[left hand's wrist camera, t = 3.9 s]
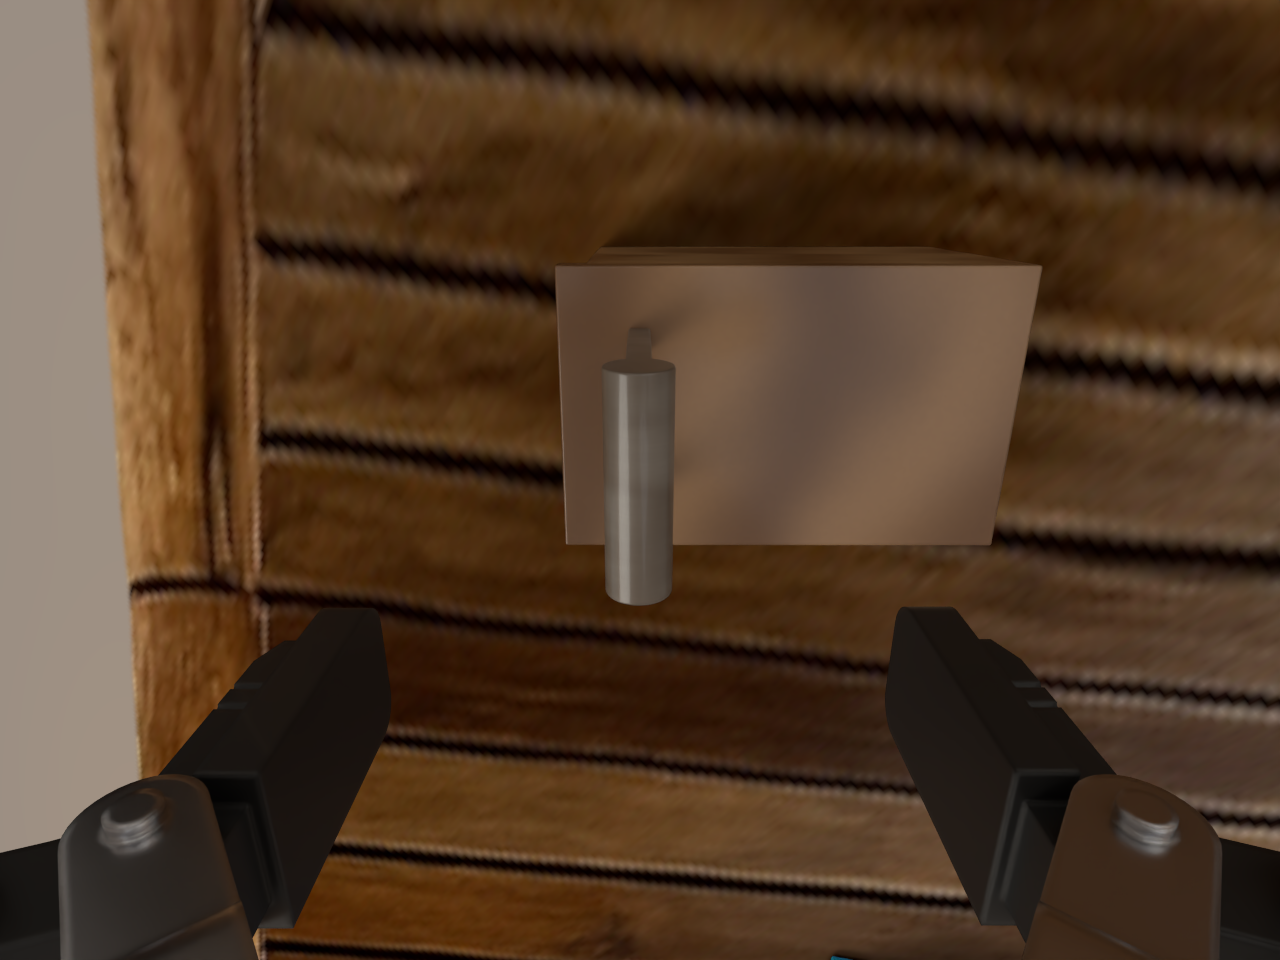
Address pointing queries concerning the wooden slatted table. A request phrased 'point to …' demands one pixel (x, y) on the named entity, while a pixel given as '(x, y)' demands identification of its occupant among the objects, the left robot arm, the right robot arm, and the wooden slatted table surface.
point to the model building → (838, 958)
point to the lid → (784, 405)
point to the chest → (787, 255)
